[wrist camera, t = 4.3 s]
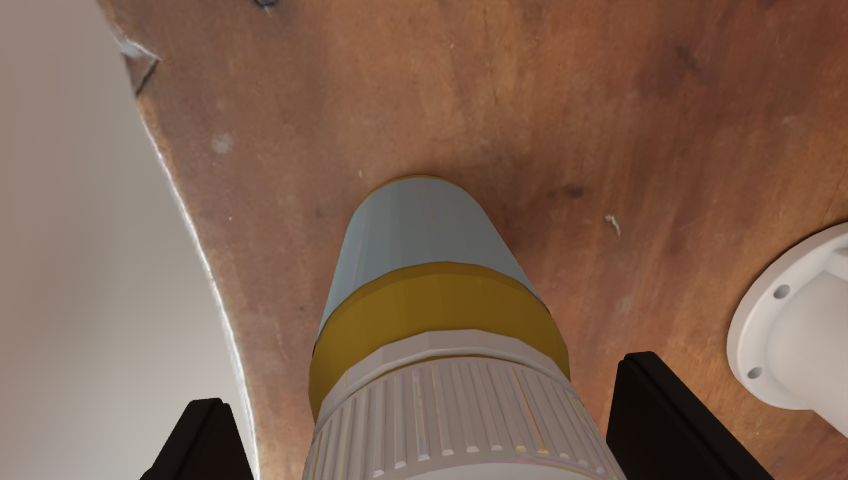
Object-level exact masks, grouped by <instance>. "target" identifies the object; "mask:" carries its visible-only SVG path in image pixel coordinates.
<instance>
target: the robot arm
mask: <svg viewBox="0 0 848 480" xmlns="http://www.w3.org/2000/svg"><path fill="white" fill-rule="evenodd" d="M727 357H728V362H729V366H730V368H731V370H732V372H733V374H734V376H735V378H736V379H737V380H738V381H739V382H740V383H741V384H742V385H743V386H744V387H745V388H746V389H747V390H748V391H749V392H750V393H752V394H753V395H754V396H755V397H757V398H758V399H759V400H761V401H763V402H765V403H767V404H770V405H772V406H774V407H780V408H785V409H796V410H810V409H813V410H814V411H815V412H816V413H817V414H819V415H820V416H821V417H822V418H824V419H825V420H826V421H827V422H829V423H830V424H831V425H832V426H833V427H835V428H836V429H837V430H838V431H840V432H841V433H842V434H843V435H845V436H846V437H847V438H848V222H846V223H843V224H839V225H836V226H833V227H831V228H828V229H826V230H824V231H822V232H820V233H817V234H815V235H813V236H811V237H809V238H807V239H806V240H804V241H803V242H801V243H799V244H798V245H796V246H795V247H793V248H791V249H790V250H788V251H787V252H786V253H785V254H783V255H782V256H781V257H780V258H778V259H777V260H776V261H775V262H774V263H772V264H771V265H770V266H769V267H768V268H767V269H766V270H765V271H764V272H763V273H762V274H761V275H760V276H759V278H758V279H757V280H756V281H755V282H754V283H753V284H752V286H751V287H750V289H749V290H748V291H747V293H746V294H745V296H744V297H743V299H742V300H741V302H740V304H739V306H738V308H737V310H736V312H735V314H734V316H733V318H732V322H731V325H730V329H729V332H728V336H727ZM606 444H607V445H608V447H609V449H610V451H611V452H612V454H613V456H614V458H615V459H616V461H617V463H618V465H619V466H620V468H621V470H622V472H623V473H624V475H625V477H626V478H627V480H775V479H774V478H773V477H772V476H771V475H770V474H769V473H768V472H767V471H766V470H765V469H764V468H763V467H762V466H761V465H760V464H759V463H758V461H757V460H756V459H755V458H754V457H753V456H752V455H751V454H750V453H749V452H748V451H747V450H746V449H745V448H744V447H743V446H742V445H741V443H740V442H739V441H738V440H737V439H736V438H735V437H734V436H733V435H732V434H731V433H730V432H729V431H728V430H727V429H726V428H725V427H724V425H723V424H722V423H721V422H720V421H719V420H718V419H717V418H716V417H715V416H714V415H713V414H712V413H711V412H710V411H709V410H708V409H707V407H706V406H705V405H704V404H703V403H702V402H701V401H700V400H699V399H698V398H697V397H696V396H695V395H694V394H693V393H692V392H691V391H690V389H689V388H688V387H687V386H686V385H685V384H684V383H683V382H682V381H681V380H680V379H679V378H678V377H677V376H676V375H675V374H674V372H673V371H672V370H671V369H670V368H669V367H668V366H667V365H666V364H665V363H664V362H663V361H662V360H661V359H660V358H659V357H658V356H657V355H656V354H655V353H654V352H651V351H646V352H637V353H629V354H626V355H625V357H624V360H621V361H620V362H619V364H618V369H617V375H616V381H615V387H614V393H613V399H612V405H611V411H610V417H609V423H608V429H607V435H606ZM140 480H254V478H253V475H252V472H251V469H250V466H249V463H248V460H247V457H246V454H245V451H244V448H243V445H242V441H241V438H240V435H239V432H238V429H237V426H236V423H235V420H234V417H233V413H232V410H231V408H230V405H229V404H228V403H224V404H223V402H222V400H221V399H220V398H209V399H200V400H193V401H191V402H190V403H189V404H188V405H187V407H186V409H185V410H184V412H183V414H182V416H181V417H180V419H179V421H178V422H177V424H176V426H175V428H174V429H173V431H172V433H171V434H170V436H169V438H168V440H167V441H166V443H165V445H164V446H163V448H162V450H161V452H160V453H159V455H158V457H157V458H156V460H155V462H154V464H153V466H152V467H151V468H150V469H148V470H147V471H146V472H145V473H144V474H143V475H142V477H141V478H140Z"/></svg>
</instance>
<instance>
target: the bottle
mask: <svg viewBox="0 0 848 480" xmlns="http://www.w3.org/2000/svg"><path fill="white" fill-rule="evenodd" d="M308 394H309V401H310V405H311V410H312V414H313V419H314V423H315V430H314V433H313V438H312V443H311V447H310V451H309V456H308V457H307V459H306V463H305V467H304V472H303V477H302V480H627V478H626V477H625V475H624V473H623V472H622V470H621V468H620V466H619V465H618V463H617V461H616V459H615V458H614V456H613V454H612V452H611V451H610V449H609V447H608V445H607V444H606V442H605V440H604V438H603V437H602V435H601V433H600V431H599V430H598V428H597V426H596V424H595V423H594V421H593V419H592V418H591V416H590V414H589V412H588V411H587V410H586V409H584V405H583V403H582V401H581V400H580V398H579V396H578V394H577V393H576V391H575V389H574V387H573V386H572V384H571V381H570V369H569V357H568V351H567V347H566V344H565V342H564V340H563V338H562V336H561V334H560V331H559V329H558V327H557V325H556V323H555V321H554V320H553V318H552V317H551V315H550V312H549V310H548V309H547V307H546V306H545V304H544V303H543V301H542V299H541V298H540V296H539V295H538V293H537V292H536V290H535V289H534V287H533V286H532V284H531V283H530V281H529V279H528V278H527V276H526V275H525V273H524V272H523V270H522V269H521V267H520V266H519V264H518V263H517V261H516V259H515V258H514V256H513V255H512V253H511V252H510V250H509V249H508V247H507V246H506V244H505V242H504V241H503V239H502V238H501V236H500V235H499V233H498V232H497V230H496V229H495V227H494V226H493V224H492V222H491V221H490V219H489V218H488V216H487V215H486V213H485V212H484V210H483V209H482V207H481V206H480V204H479V203H478V202H477V201H476V200H475V199H474V198H473V197H472V196H471V195H470V194H469V193H468V192H467V191H466V190H465V189H464V188H462V187H461V186H459V185H457V184H455V183H453V182H451V181H449V180H447V179H445V178H441V177H437V176H429V175H421V174H420V175H410V176H404V177H399V178H395V179H392V180H390V181H388V182H386V183H385V184H383V185H381V186H379V187H377V188H375V189H374V190H373V191H372V192H370V193H369V194H368V196H367V197H366V198H365V199H364V200H363V201H362V202H361V203H360V204H359V205H358V207H357V208H356V210H355V212H354V215H353V217H352V219H351V221H350V223H349V226H348V228H347V231H346V235H345V238H344V242H343V245H342V249H341V253H340V256H339V260H338V263H337V267H336V271H335V274H334V278H333V281H332V285H331V289H330V292H329V296H328V299H327V303H326V306H325V310H324V314H323V317H322V321H321V324H320V328H319V332H318V335H317V339H316V342H315V346H314V350H313V356H312V362H311V366H310V372H309V391H308Z"/></svg>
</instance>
